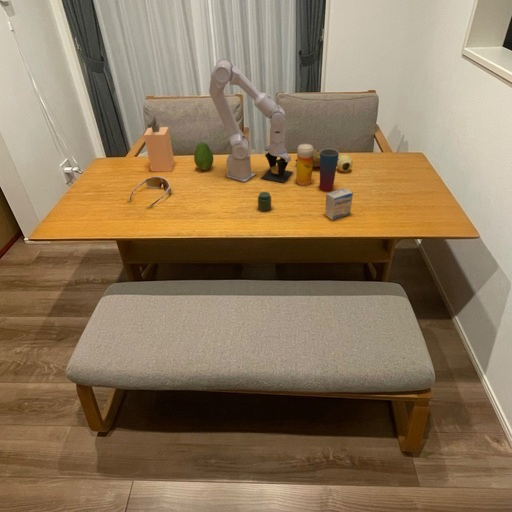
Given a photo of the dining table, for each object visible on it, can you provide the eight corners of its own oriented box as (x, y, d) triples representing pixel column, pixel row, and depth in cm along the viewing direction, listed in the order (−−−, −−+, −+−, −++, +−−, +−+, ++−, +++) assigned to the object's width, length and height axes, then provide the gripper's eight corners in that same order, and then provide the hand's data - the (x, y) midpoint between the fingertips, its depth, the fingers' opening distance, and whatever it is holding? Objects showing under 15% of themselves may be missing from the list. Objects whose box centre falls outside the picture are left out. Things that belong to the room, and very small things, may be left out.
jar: (255, 209, 140) (255, 195, 136) (262, 203, 143) (262, 189, 139) (266, 213, 137) (266, 199, 134) (273, 207, 140) (273, 193, 137)
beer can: (310, 186, 152) (313, 150, 143) (295, 185, 153) (296, 149, 144) (311, 179, 157) (314, 143, 147) (297, 178, 158) (298, 142, 149)
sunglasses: (178, 190, 152) (175, 180, 148) (154, 213, 143) (150, 202, 140) (151, 183, 158) (147, 172, 154) (126, 204, 149) (122, 194, 145)
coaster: (261, 179, 158) (261, 177, 158) (270, 169, 165) (270, 167, 165) (283, 183, 155) (283, 182, 154) (292, 173, 162) (292, 171, 161)
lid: (286, 171, 158) (286, 168, 157) (275, 175, 156) (275, 171, 155) (278, 167, 161) (278, 164, 161) (268, 170, 159) (268, 167, 158)
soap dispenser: (155, 163, 173) (145, 113, 160) (174, 162, 173) (166, 113, 159) (149, 176, 163) (137, 124, 150) (169, 175, 163) (159, 123, 149)
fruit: (206, 163, 171) (203, 137, 164) (218, 168, 167) (215, 141, 160) (192, 169, 167) (188, 142, 160) (203, 175, 163) (200, 147, 155)
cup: (337, 186, 151) (341, 149, 142) (332, 194, 147) (336, 157, 137) (320, 183, 154) (323, 147, 145) (315, 190, 149) (317, 154, 140)
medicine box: (331, 220, 132) (334, 198, 127) (324, 214, 135) (326, 193, 130) (350, 214, 135) (353, 192, 130) (342, 209, 138) (345, 187, 133)
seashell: (330, 174, 162) (335, 151, 156) (296, 172, 161) (299, 149, 155) (326, 163, 171) (330, 141, 165) (293, 161, 170) (296, 139, 164)
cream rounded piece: (335, 167, 165) (336, 152, 161) (351, 167, 164) (353, 152, 160) (336, 173, 160) (337, 158, 156) (352, 174, 159) (354, 158, 155)
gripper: (297, 143, 148) (296, 176, 156) (274, 132, 157) (274, 163, 165) (282, 148, 144) (282, 181, 153) (260, 136, 154) (261, 168, 162)
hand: (277, 172), depth 159 cm, fingers closed on lid, 5 cm apart
